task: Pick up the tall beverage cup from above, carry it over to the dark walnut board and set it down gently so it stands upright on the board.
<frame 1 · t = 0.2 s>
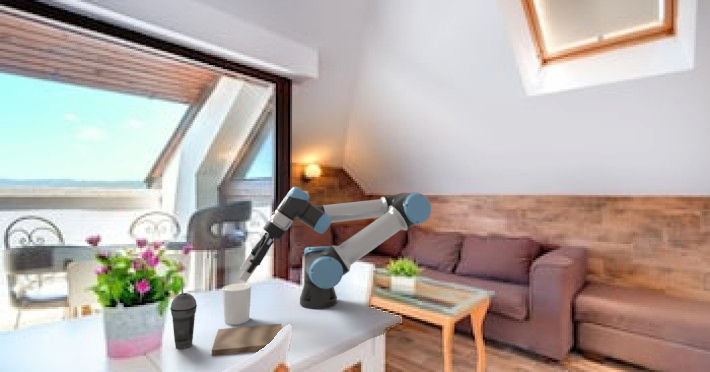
hand: (242, 275, 131), 16 cm above the table, tool tilted 35°, fingers open, 13 cm apart
beverage cup: (183, 346, 110), on the table
candle holder: (237, 321, 131), on the table
walnut board: (249, 340, 114), on the table
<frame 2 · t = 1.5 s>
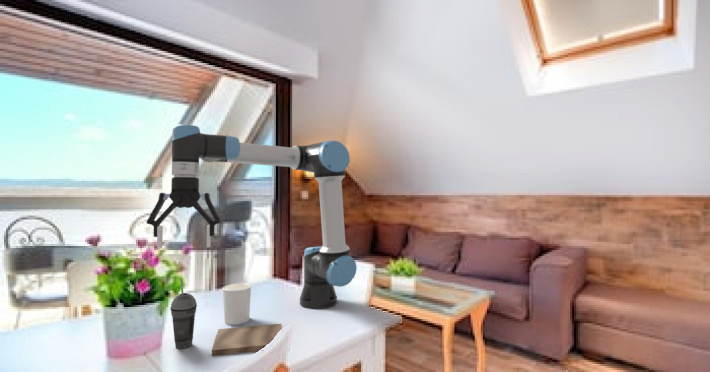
hand: (184, 247, 111), 29 cm above the table, tool pointing down, fingers open, 13 cm apart
nothing on the table moved.
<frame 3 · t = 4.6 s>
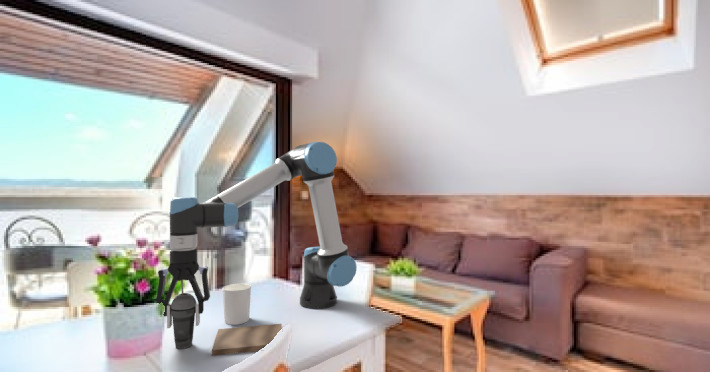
hand: (183, 325, 110), 6 cm above the table, tool pointing down, fingers closed on beverage cup, 7 cm apart
beverage cup: (183, 346, 110), on the table, touching gripper
everything else where it was.
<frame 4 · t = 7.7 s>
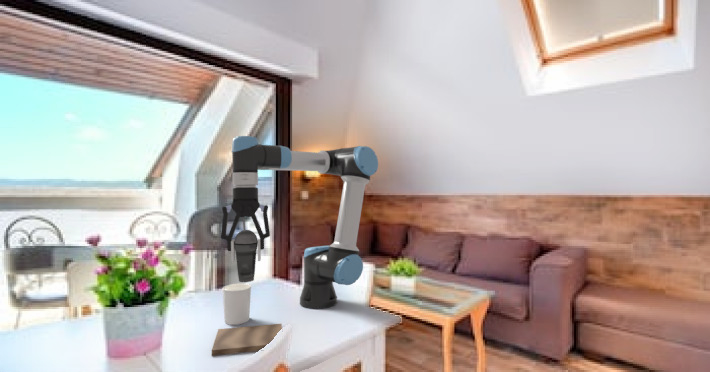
hand: (246, 260, 114), 25 cm above the table, tool pointing down, fingers closed on beverage cup, 7 cm apart
beverage cup: (246, 281, 114), point 18 cm above the table, touching gripper
everything else where it was.
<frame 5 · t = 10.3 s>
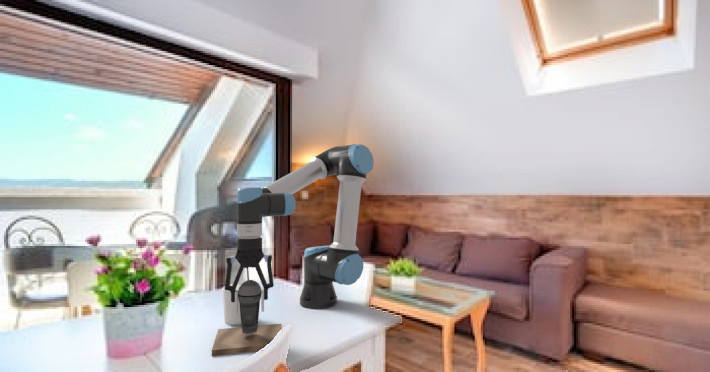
hand: (249, 311, 114), 9 cm above the table, tool pointing down, fingers closed on beverage cup, 7 cm apart
beverage cup: (249, 331, 114), point 3 cm above the table, touching gripper
everything else where it was.
when the fingers open (9 cm above the table, at t = 11.0 s): beverage cup drops 1 cm, resting on walnut board.
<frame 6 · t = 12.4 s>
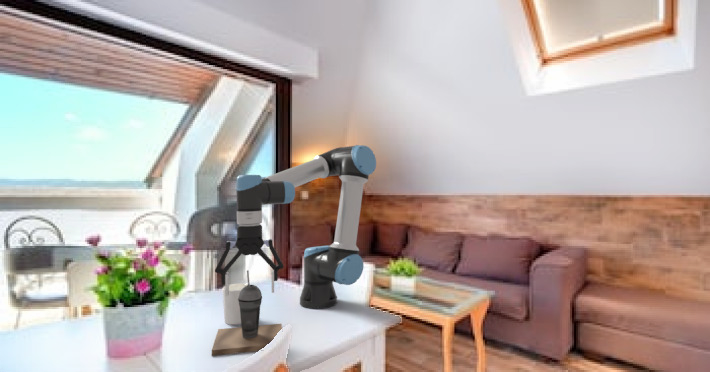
hand: (250, 293, 114), 15 cm above the table, tool pointing down, fingers open, 13 cm apart
beverage cup: (250, 336, 114), point 1 cm above the table, touching walnut board
everything else where it was.
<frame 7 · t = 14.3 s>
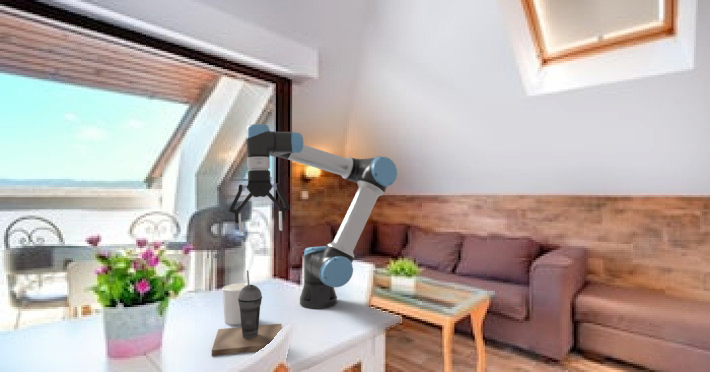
hand: (260, 231, 127), 32 cm above the table, tool pointing down, fingers open, 13 cm apart
nothing on the table moved.
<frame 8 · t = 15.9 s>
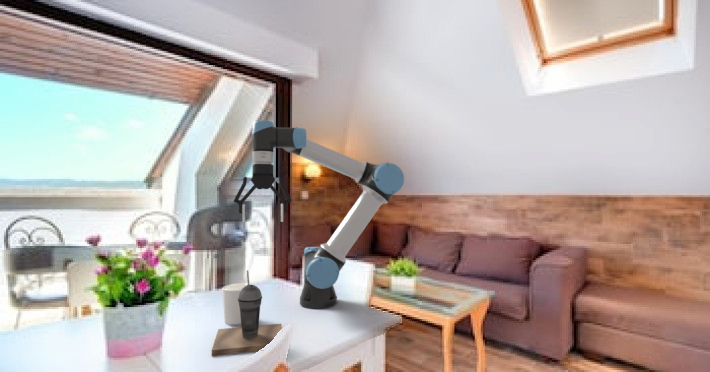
hand: (263, 222, 134), 35 cm above the table, tool pointing down, fingers open, 13 cm apart
nothing on the table moved.
at the end: beverage cup inside the target area on the walnut board (0.2 cm from its centre), point 1.3 cm above the walnut board's base; beverage cup tilted 0°; the gripper is holding nothing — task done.
